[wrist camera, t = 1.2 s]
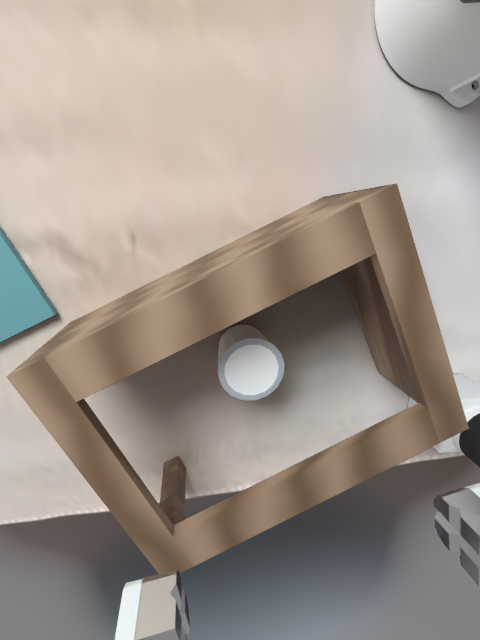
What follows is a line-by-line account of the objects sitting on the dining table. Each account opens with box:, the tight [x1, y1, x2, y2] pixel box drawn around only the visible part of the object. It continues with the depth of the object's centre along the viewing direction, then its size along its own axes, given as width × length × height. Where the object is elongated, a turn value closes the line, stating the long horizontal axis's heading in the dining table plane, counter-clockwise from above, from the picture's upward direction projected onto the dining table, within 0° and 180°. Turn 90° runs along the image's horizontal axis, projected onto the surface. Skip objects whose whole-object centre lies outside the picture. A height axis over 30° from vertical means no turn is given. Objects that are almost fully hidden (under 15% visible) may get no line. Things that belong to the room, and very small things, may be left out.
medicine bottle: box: [408, 374, 480, 467], centre depth 42 cm, size 7×7×12 cm
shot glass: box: [218, 325, 285, 400], centre depth 38 cm, size 7×7×7 cm
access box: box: [7, 184, 469, 574], centre depth 35 cm, size 31×23×14 cm
